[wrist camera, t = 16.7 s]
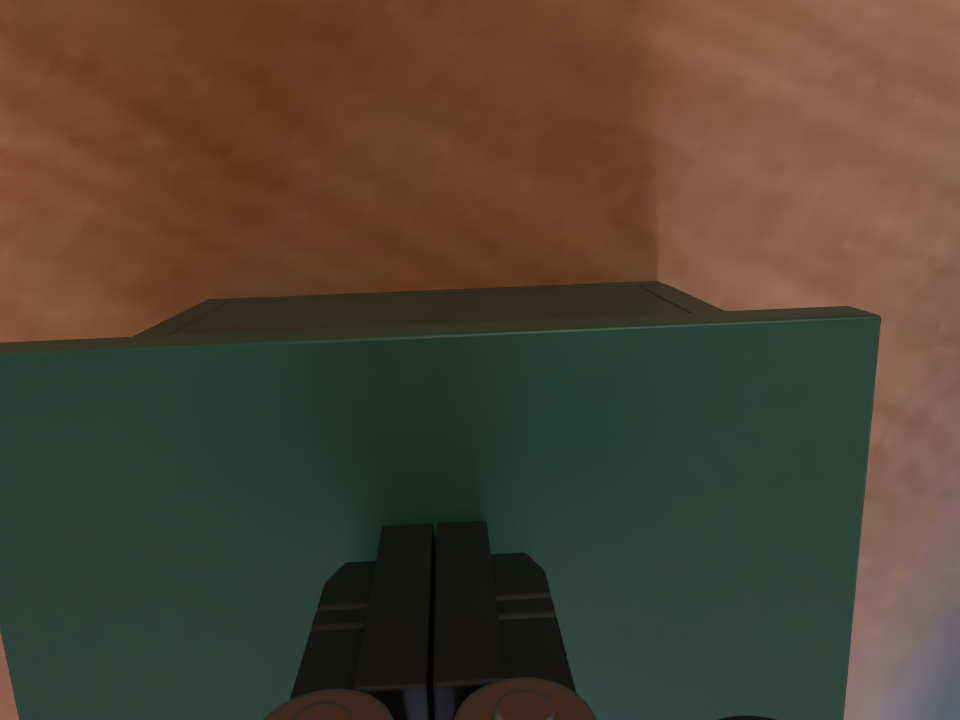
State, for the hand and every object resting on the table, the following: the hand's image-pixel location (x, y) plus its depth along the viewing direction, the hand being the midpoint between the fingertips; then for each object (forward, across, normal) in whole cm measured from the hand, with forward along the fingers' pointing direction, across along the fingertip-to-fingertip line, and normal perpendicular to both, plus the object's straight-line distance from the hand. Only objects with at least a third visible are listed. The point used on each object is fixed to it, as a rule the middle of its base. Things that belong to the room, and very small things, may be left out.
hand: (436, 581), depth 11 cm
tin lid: (+1, 0, +4) cm, 4 cm away
